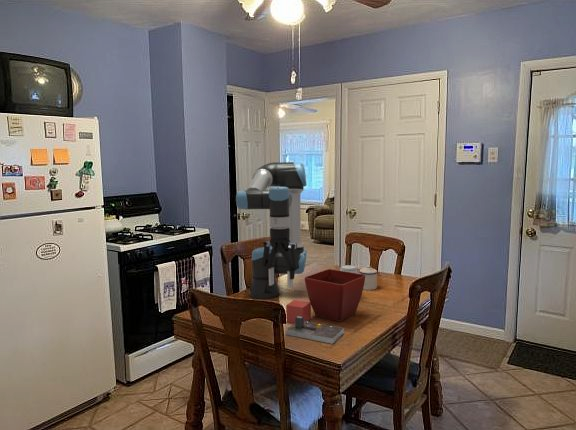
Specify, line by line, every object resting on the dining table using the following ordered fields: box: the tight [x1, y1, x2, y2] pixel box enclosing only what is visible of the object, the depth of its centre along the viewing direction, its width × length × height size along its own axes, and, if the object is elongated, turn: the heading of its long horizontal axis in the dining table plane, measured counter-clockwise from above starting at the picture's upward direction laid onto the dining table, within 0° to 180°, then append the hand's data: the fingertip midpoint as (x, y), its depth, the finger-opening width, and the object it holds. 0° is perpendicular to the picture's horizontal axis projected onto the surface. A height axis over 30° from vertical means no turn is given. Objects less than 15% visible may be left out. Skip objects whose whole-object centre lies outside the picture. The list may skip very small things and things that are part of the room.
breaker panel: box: [285, 320, 345, 345], centre depth 163 cm, size 19×11×3 cm, turn 62°
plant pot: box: [304, 268, 365, 322], centre depth 182 cm, size 19×19×17 cm
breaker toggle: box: [295, 316, 304, 328], centre depth 164 cm, size 2×2×4 cm
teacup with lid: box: [357, 264, 378, 291], centre depth 220 cm, size 12×9×12 cm
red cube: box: [285, 299, 312, 324], centre depth 177 cm, size 8×8×7 cm
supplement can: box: [339, 264, 358, 273], centre depth 204 cm, size 8×8×15 cm
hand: (280, 285), depth 167 cm, fingers open, 8 cm apart
